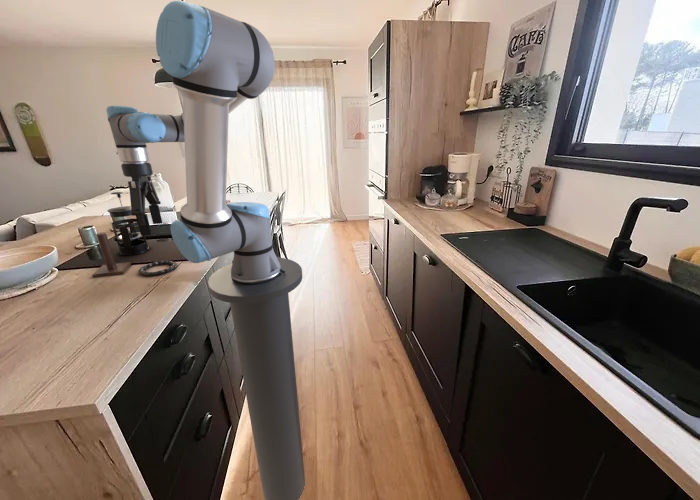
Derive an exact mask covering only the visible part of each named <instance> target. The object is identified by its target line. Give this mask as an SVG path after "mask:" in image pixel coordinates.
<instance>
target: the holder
mask: <svg viewBox="0 0 700 500" xmlns="http://www.w3.org/2000/svg"><path fill="white" fill-rule="evenodd" d="M95 235H96V239H97V241H98V244H99V247H100V250H101V251H100V252H101V253H102V257H103V259H104V262H105V264H102V265H101V266H100V267H99V268H98V269H97V270H96V271H95V272H93V273H92V275H91V276H92V278H101V277H109V276H116V275H124V273H125V272H126V271H127V270H128V269H129V268H130V267H131V266H132V262H131V261H127V262H118V263H117V262H116V260H115V257H114V254H113V250H112V247H111V244H110V242H109V238H108V236H107V233H106V232H103V231H102V232H98V233H96V234H95Z"/></svg>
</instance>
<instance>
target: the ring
mask: <svg viewBox="0 0 700 500" xmlns="http://www.w3.org/2000/svg"><path fill="white" fill-rule="evenodd" d="M160 265H170V266H169V267H166V268H164V269H161V270H157V271H145V270H148V269H149V268H153V267H155V266H160ZM176 267H177V264H176V262H174V261H172V260H158V261H154V262H153V261H152V262H150V263H147V264H145V265H143V266H141V267H140V268H139V270H138V273H139V275H141V276H144V277H154V276H161V275H164V274H167V273H169V272H172V271H173V270H175V269H176Z"/></svg>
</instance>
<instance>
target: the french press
mask: <svg viewBox="0 0 700 500" xmlns="http://www.w3.org/2000/svg"><path fill="white" fill-rule="evenodd" d="M110 194H111V195H116V197H117V198H118V200H119V202H120V206H118V207H113V208H109V209H107V211H106V212H108V213H109V215H110V217H111V218H123V217H124V219H119V220H115V221H112V222H111V224H110V225H111V227H112V230H113V233H114V237H115V241H116V243H117V246H118V249H119V255H120V256H125V257H130V256H136V255H141V254H143V253H146V252H148V251H149V250H150V246H149V245H148V240H147V237H146V235H144V236H141V233H140V231H138V232H137V229H136V227H137V226H138V222H137V219H136V218H127V217H131V216H132V215H131V212H132V211H131V205H129V206H128V205H127V206H126V205H125V206H123V203H122V200H121V198H122V196H121V195H123V194H126V192H125V191H114V192H111V193H110ZM138 227H139V226H138ZM117 229H118V230H119V233H120V235H118V232H117ZM141 238H143V239H141ZM121 241H122V242H121Z"/></svg>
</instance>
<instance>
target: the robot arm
mask: <svg viewBox="0 0 700 500" xmlns="http://www.w3.org/2000/svg"><path fill="white" fill-rule="evenodd" d="M155 50H156V53H157V56H158V58H159V63H160V66H161V67H162V69H163V70H164V71H165V72H166V73H167V74H168V75H170V76H171V77H172V85H173V86H174V88H176V90H177V92H179V93H180V94H181V97H182V113H181V114H164V113H163V114H162V113H151V112H148V111H138V109H137V108H136V107H133V106H126V105H108V106H107V107H106V115H107V121H108V123H109V128H110V131H111V134H112V138H113V140H114V144H115V148H116V151H115V154H116V155H118V158H119V162H121V164H120V166H121V167H120V168H121V170H122V173H123V174H122V175H123V176H124V177H128V178H131V180H130V181H127V185H128V189H129V196H130V197H129V200H130V206H131V211H132V212H131V216H132V217H133V216H135V217H136V218H135V219H137V222H138V229H139V232H140V233H141V236H144V235H145V236H151V235H153V233H152V229H151V225H150V221H149V217H148V214H147V213H146V201H147V203H148V204H149V205H148V208H149V213H150V217H151V221H152V224H153V225H158V224H163V218H162V214H161V211H160V207H159V205H161V203H162V202H161V201H160V198H159V196H158V193H157V191H156V187H155V185H154V183H153V181H152V177H151V176H153V175H154V172H153V167H152V164H151V163H150V161H151V159H150V154H149V151H148V146H147V144H155V143H184V160H185V161H184V162H185V183H186V186H185V187H186V203H185V204H183V205H182V206H181V207H180V211H179V212H180V213H179V214H180V219H175V220H174V221H172V222H171V224H170V234H171V237H172V240H173V242H174V244H175V246H176V248H177V250H178V251H179V253H180V254H181V255H182V256H183V257H184V259H185V260H187V261H188V262H190V263H192V264H200V263H204V262H207V261H208V262H209V261H211V260H213V259H215V258H216V259H217V258H219V257H222V256H224V255H228V254H231V253H233V258H232V260H231V263H232V268H231V278H232V280H233V281H234V282H236V283H239V284H243V285H255V284H262V283H266V282H269V281H271V280H273V279H275V278H277V277H278V276H279V275H280V274H281V272H282V273H285V271H284V270H282V269H281V266H280V263H279V261H278V259H277V257H278V256H277V254H276V253H275V251H274V246H273V245H274V244H273V236H272V227H271V226H272V224H271V217H270V210H269V207H268V206H267V205H266V204H264V203H260V202H251V201H233V202H228V203H227V182H228V181H227V180H228V151H229V148H228V147H229V120H230V119H229V117H230V114H231V113H232V112H234V110H236V109H237V108H238V107H239V106H240V105H242V104H243V103H244V102H245V101H247V100H254V99H256V98H258V97H259V96H260V95H262V94H263V93H264V92H265V91H266V90H267V89H268V88H269V86H270V85H271V84H272V81H273V78H274V76H275V71H276V70H275V69H276V61H275V56H274V55H275V54H274V51H273V49H272V47H271V44H270V42H269V41H268V39H267V38H266V36H265V35H264V34H263V33H262V32H261V31H260V30H259V29H258V28H256V27H255V26H253V25H252V24H250V23H247V22H245V21H241V20H238V19H235V18H233V17H231V16H228V15H225V14H223V13H220V12H218V11H215V10H213V9H210V8H208V7H205V6H203V5H200V4H197V3H192V2H189V1H184V0H173V1H170V2H168V3H167V4H166V5H165V6H164V8H163V9H162V11H161V12H160V15H159V17H158V19H157V23H156V30H155Z"/></svg>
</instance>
